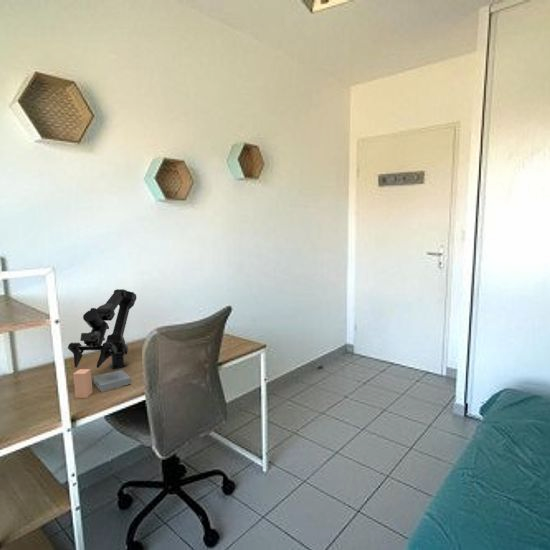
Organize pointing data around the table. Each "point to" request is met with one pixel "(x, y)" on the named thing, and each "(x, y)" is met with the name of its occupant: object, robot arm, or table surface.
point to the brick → (82, 383)
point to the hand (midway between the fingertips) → (86, 367)
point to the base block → (111, 380)
